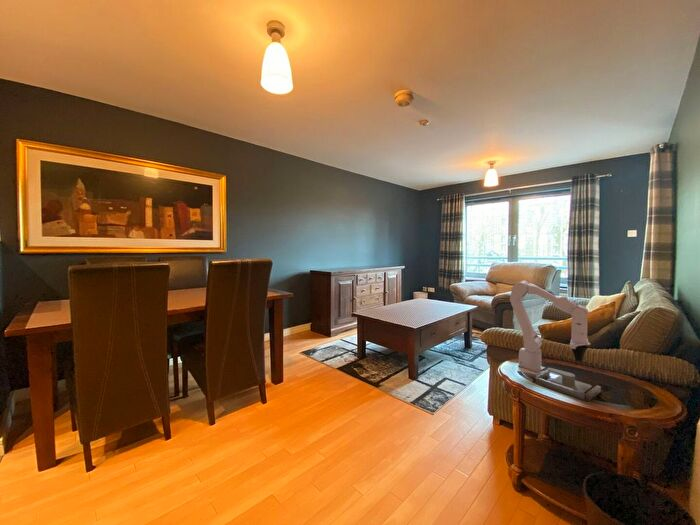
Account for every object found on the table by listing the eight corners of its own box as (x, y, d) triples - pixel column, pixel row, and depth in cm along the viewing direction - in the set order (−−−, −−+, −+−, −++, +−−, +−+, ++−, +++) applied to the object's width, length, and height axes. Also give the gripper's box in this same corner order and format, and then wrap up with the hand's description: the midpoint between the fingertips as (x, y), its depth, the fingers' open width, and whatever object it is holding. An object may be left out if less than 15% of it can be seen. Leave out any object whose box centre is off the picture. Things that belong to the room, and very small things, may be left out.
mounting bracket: (532, 382, 132) (532, 376, 132) (546, 374, 139) (546, 369, 139) (587, 401, 115) (587, 395, 115) (600, 392, 122) (600, 386, 122)
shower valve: (553, 364, 139) (592, 375, 126) (553, 375, 139) (592, 387, 127) (541, 371, 132) (581, 383, 120) (541, 382, 132) (581, 396, 120)
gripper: (583, 336, 126) (582, 367, 127) (596, 331, 134) (595, 360, 134) (564, 333, 132) (563, 362, 133) (578, 327, 140) (577, 355, 140)
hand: (578, 360), depth 134 cm, fingers closed
